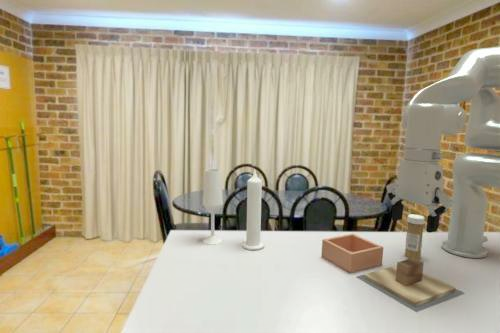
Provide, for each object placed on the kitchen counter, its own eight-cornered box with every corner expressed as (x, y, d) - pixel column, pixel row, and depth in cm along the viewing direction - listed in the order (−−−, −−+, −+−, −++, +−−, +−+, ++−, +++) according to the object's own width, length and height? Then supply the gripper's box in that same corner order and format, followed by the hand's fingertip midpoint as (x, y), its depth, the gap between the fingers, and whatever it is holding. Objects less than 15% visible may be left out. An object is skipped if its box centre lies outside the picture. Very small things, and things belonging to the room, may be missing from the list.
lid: (403, 267, 98) (405, 246, 97) (455, 291, 85) (458, 268, 84) (364, 278, 91) (366, 256, 90) (414, 306, 78) (417, 281, 77)
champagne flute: (226, 240, 117) (227, 170, 113) (212, 246, 112) (212, 172, 108) (213, 235, 121) (213, 167, 117) (198, 240, 116) (198, 170, 112)
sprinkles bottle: (423, 259, 105) (428, 216, 102) (414, 263, 102) (419, 219, 100) (409, 254, 108) (413, 212, 106) (400, 257, 106) (404, 215, 104)
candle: (238, 248, 110) (239, 170, 106) (247, 240, 117) (248, 167, 113) (259, 252, 108) (261, 172, 104) (267, 244, 114) (269, 169, 110)
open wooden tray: (351, 251, 110) (352, 233, 109) (381, 267, 99) (383, 247, 98) (321, 258, 104) (322, 239, 103) (350, 275, 93) (351, 254, 93)
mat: (401, 265, 100) (402, 263, 100) (464, 295, 84) (465, 293, 84) (355, 278, 92) (355, 276, 92) (416, 314, 76) (416, 312, 76)
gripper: (467, 160, 77) (457, 234, 79) (400, 151, 92) (394, 214, 94) (446, 161, 73) (436, 239, 76) (380, 152, 88) (374, 217, 91)
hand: (413, 225), depth 85 cm, fingers open, 9 cm apart
